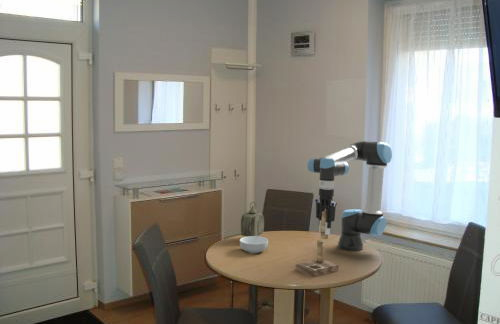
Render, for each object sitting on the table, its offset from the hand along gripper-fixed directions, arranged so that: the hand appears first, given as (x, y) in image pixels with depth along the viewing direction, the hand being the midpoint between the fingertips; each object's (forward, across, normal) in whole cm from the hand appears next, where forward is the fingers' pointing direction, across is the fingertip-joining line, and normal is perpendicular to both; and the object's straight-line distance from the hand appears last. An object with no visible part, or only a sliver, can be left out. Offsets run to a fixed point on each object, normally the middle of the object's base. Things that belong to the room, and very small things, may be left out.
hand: (324, 233), depth 258 cm
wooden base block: (+20, -2, -2) cm, 20 cm away
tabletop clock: (+20, -65, +2) cm, 68 cm away
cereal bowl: (+20, -47, -10) cm, 52 cm away
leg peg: (+3, 0, 0) cm, 3 cm away
